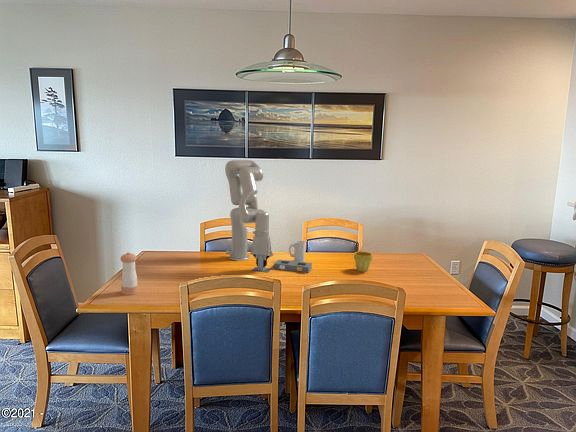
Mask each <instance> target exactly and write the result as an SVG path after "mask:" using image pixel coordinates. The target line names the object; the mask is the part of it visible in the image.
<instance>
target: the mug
mask: <svg viewBox="0 0 576 432" xmlns="http://www.w3.org/2000/svg"><path fill="white" fill-rule="evenodd" d="M293 247H294V248H293ZM292 248H293V249H294V253H293V254H292V252H291V251H292V250H291V249H292ZM288 253H289V255H290V257H291V258H294V259H293V261H298V262H306V261H305V259H306V258H305V257H306V241H304V240H303V241H302V240H296V241H294V244H293V243H290V245H289V247H288Z"/></svg>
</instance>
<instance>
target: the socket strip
mask: <svg viewBox="0 0 576 432" xmlns="http://www.w3.org/2000/svg"><path fill="white" fill-rule="evenodd" d="M312 268H313V263H312V262H306V261H305V262H298V261H294V260H287V259H277V260H276V261H275V262H274V263H273V270H281V271H288V272H297V273H301V272H302V274H309V273H310V272H311V270H312Z"/></svg>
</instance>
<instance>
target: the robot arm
mask: <svg viewBox="0 0 576 432" xmlns="http://www.w3.org/2000/svg"><path fill="white" fill-rule="evenodd" d="M224 170H225V175H226V179H227V181H228V188H229V194H230V201H231V204H232V205H234V206H238V207H234V208H232V209H231V210H230V213H229V217H230V222H231V224H230V225H231V250H225V254H226V255H229V257H228V258H229V260H231V261H236V262H237V261H241V262H242V261H245V260H246V261H247V260H249V259H250V258H251V256H253V257H254V258H255V262H256V263H255V264H256V267H258V255H264V261H263V267H265V268H266V266H267V265H268V259H269V258H270V257H273V256H274V254H273V252H272V241H271V237H270V214H269V212H268V211H265V210H263V209H259V204H258V198H257V194H258V192H259V191H258V188H257V187H258V186H257V184H256V183H257V182H261V181H263V179H264V173H263V170H262V168H261V167H260V166H259V164H258V163H256V162H255V161H253V160H251V159H233V160H229V161H227V163H225V169H224ZM245 224H254V227H255V228H254V231H252V234H254V235H253V239H252V244H251V245H252V246H251V251H250V255H248V228H247V226H246V225H245Z"/></svg>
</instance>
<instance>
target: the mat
mask: <svg viewBox="0 0 576 432" xmlns="http://www.w3.org/2000/svg"><path fill="white" fill-rule="evenodd" d="M271 270H272V268H271V267H269V268H268V267H265V270H264V271H260V270H258V266H254V268H252V269H251V270H250V272H257V273H269V272H270V271H271Z"/></svg>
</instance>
